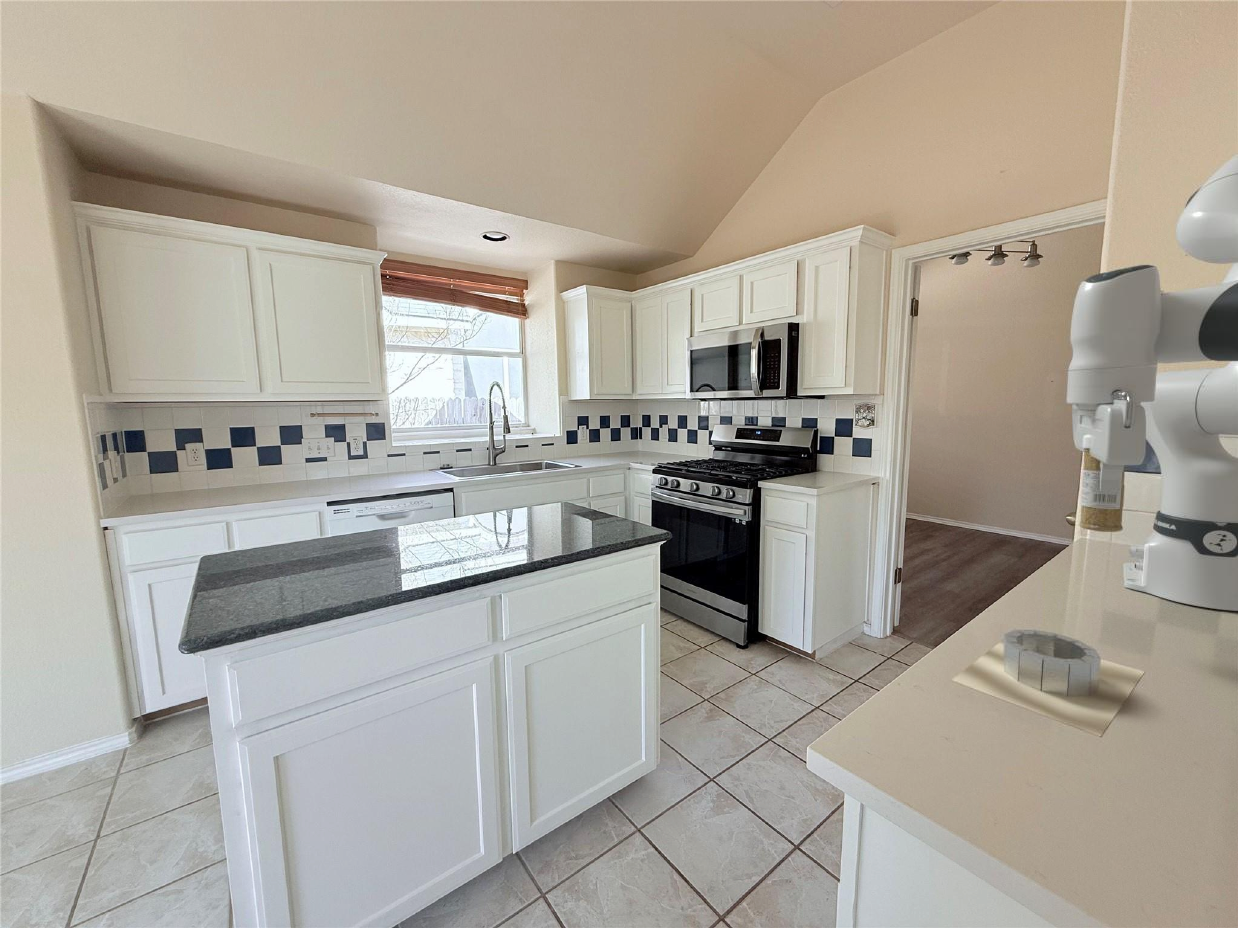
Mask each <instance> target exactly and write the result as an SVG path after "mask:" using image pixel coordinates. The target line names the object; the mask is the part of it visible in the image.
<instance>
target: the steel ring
mask: <svg viewBox="0 0 1238 928" xmlns="http://www.w3.org/2000/svg"><path fill="white" fill-rule="evenodd" d="M1003 639H1004V649H1003V667H1004V671H1005V672H1006V673H1007V674H1008V675H1010V676H1011V677H1012V678H1014V679H1015V680H1016V681H1018V682H1020V683H1022V684H1025V685H1027V686H1030V687H1032V688H1035V689H1037V690H1040V691H1043V692H1048V693H1053V694H1058V695H1062V696H1068V697H1074V696H1090V695H1092V694H1093V693H1095V692H1097V691H1098V689H1099V676H1100V663H1101V659H1102V658H1101V656H1100V654H1099V653H1098V651H1097V649H1095V648H1094V647H1092V646H1090V645H1088V644H1087V643H1085V642H1083V641H1081V640H1079V639H1075V638H1072V637H1069V636H1066V635H1064V634H1063V635H1062V634H1060V633H1056V632H1050V631H1045V630H1038V629H1013V630H1011V631H1008V632H1006V633H1005V634H1004V635H1003Z"/></svg>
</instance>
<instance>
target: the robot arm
mask: <svg viewBox="0 0 1238 928" xmlns="http://www.w3.org/2000/svg"><path fill="white" fill-rule="evenodd" d="M1175 239H1176V241H1177V243H1178V246H1179V247H1180V248H1181V250H1183V252H1185V253H1186V255H1187V254H1188V255H1189V256H1190V257H1192V258H1194V259H1196V260H1199V261H1202V262H1206V263H1209V264H1216V265H1217V264H1219V265H1223V264H1225V265H1226V264H1233V265H1232V266H1230V267H1231V268H1230V269H1229V271H1228V272H1227V274H1226V275H1225V277H1224V279H1223V280H1222V282H1221V284H1216V285H1209V286H1202V287H1197V288H1190V289H1184V290H1178V291H1173V292H1172V291H1171V292H1165V290H1164V291H1163V290H1161V282H1160V281H1161V280H1160V274H1159V270H1158V266H1155V265H1150V264H1140V265H1135V266H1129V267H1125V268H1121V269H1120V268H1119V269H1115V270H1112V271H1106V272H1101V273H1098V274H1097V273H1096V274H1093V275H1091V276H1088V277H1087V278H1086V279H1085V280H1083V281H1081V282H1080V284H1079V286H1078V289H1077V292H1076V295H1075V298H1074V303H1073V309H1072V314H1071V323H1070V335H1069V336H1070V338H1069V341H1070V344H1071V347H1072V358H1071V361H1070V363H1069V366H1068V372H1067V384H1066V385H1067V389H1066V402H1065V403H1067V404H1068V405H1069V404H1071V405H1072V406H1071V407H1072V408H1071V414H1072V415H1071V417H1072V418H1071V419H1072V421H1071V422H1072V434H1073V435H1072V437H1073V438H1072V439H1073V442H1074V447H1075V448H1076V449H1077V450H1079V451H1081V452H1082V453H1084V451H1083V450H1084V448H1083V437H1084V436H1085V435H1090V436H1091V446H1090V449H1089V451H1090V455H1091V456H1092V457H1094V458H1096V459H1098V460H1100V468H1101V473H1100V479H1099V481H1098V489H1099V490H1100V491H1101V492H1103V493H1117V492H1118V488H1119V480H1120V478H1121V475H1122V472H1123V470H1124V465H1125V466H1139V465H1142V464H1143V461H1144V460H1145V456H1146V447H1147V446H1146V443H1147V442H1148V443H1149V445H1150V446H1151V448H1152V449H1153V451H1154V453H1155V455H1156V457H1157V460H1158V463H1159V467H1160V474H1161V481H1160V482H1161V483H1160V484H1161V486H1160V487H1161V489H1160V490H1161V491H1160V507H1159V510H1158V511H1156V514H1155V517H1154V518H1153V527H1152V529H1153V530H1154V531H1153V532H1152V533H1151V534H1150V535H1148V536H1147V538H1145V539H1144V540H1143V541H1142V542H1141V544H1140V546H1129V551H1128V552H1129V555H1128V556H1129V557H1128V558H1129V559H1134V560H1139V562H1138V561H1137V562H1136V561H1135V562H1124V563H1123V566H1122V573H1123V574H1122V575H1123V577H1122V579H1123V587H1124V588H1127V589H1129V590H1135V591H1138V592H1139V591H1140V592H1143V593H1147V594H1149V595H1154V596H1156V597H1158V598H1161V599H1166V600H1170V601H1173V602H1177V603H1181V604H1186V605H1191V606H1195V607H1196V606H1197V607H1201V608H1202V607H1203V608H1206V609H1207V608H1209V609H1215V610H1223V611H1237V612H1238V457H1236V456H1234V455H1232V454H1230V453H1229V452H1228V451H1227V450H1226V449H1225V447H1224V446H1223V444H1222V443H1221V440H1220V435H1223V436H1226V435H1227V436H1238V153H1237V154H1235V155H1233V156H1232V157H1231V158H1230V159H1229V160H1227V161H1226V162H1225V163H1223V164H1222V165H1221V167H1219V168H1218V169H1217V170H1215V172H1214V173H1213V174H1212V175H1211V176H1210V177H1209V178H1208V179H1207V180H1206V181H1205V182H1204V183H1203V184H1202V186H1200V187H1199V188H1198V189H1197V190H1196V191H1195V192H1194V193H1192V195H1190V197H1189V198H1188V200H1187V202H1186V204H1185V206H1184V209H1183V211H1182V212H1181V214H1180V216H1179V218H1178V221H1177V224H1176V227H1175ZM1211 361H1214V362H1229V363H1228V364H1227V365H1226V366H1223V367H1218V368H1217V367H1215V368H1213V367H1212V368H1198V369H1197V368H1196V369H1179V370H1177V369H1176V370H1167V371H1162V372H1158V364H1179V363H1181V364H1182V363H1193V362H1194V363H1195V362H1197V363H1198V362H1211ZM1146 441H1147V442H1146ZM1124 471H1125V470H1124Z"/></svg>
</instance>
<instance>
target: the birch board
mask: <svg viewBox="0 0 1238 928" xmlns="http://www.w3.org/2000/svg"><path fill="white" fill-rule="evenodd" d="M1003 649H1004V638H1003V639H1002V640H1000V642H998V643H997V644H996V645H995V646H993V647H992V648H991V649H990V650H988V651H987V652H985V653H984V654H983V655H982V656H980V657H979V658H978V659H976V660H975V661H974V662H973V663H971V664H970V665H968V666H967V667H966V668H965V669H963V670H962V671H960V673H959V674H957V675H956V676H954V677H953V678H952V679H951V680H950V681H951V682H954V683H957V684H959V685H963V686H965V687H967V688H970V689H973V690H975V691H978V692H981V693H983V694H985V695H989V696H991V697H994V698H996V699H1000V700H1002V701H1005V702H1007V703H1010V704H1013V705H1015V706H1017V707H1019V708H1022V709H1025V710H1028V711H1031V712H1033V713H1036V714H1038V715H1041V716H1043V717H1047V718H1049V719H1051V720H1054V721H1057V722H1060V723H1062V724H1065V725H1067V726H1070V727H1073V728H1076V729H1078V730H1081V731H1084V732H1086V733H1089V734H1091V735H1094V736H1097V737H1100V738H1102V736H1103V735H1104V733H1105V731H1106V730H1107V728H1108V727H1109V726H1110V725H1111V722H1112V721H1113V719H1114V718H1115V716H1117V713H1118V712H1119V711H1120V710H1121V708H1122V706H1123V705H1124V703H1125V702H1126V701H1127V699H1128V697H1129V696H1130V694H1131V693H1132V691H1134V689H1135V687H1136V686H1137V684H1138V683H1139V681H1140V680H1141V678H1142V677H1143V675H1144V674H1145V671H1143V670H1139V669H1137V668H1133V667H1130V666H1126V665H1123V664H1122V665H1121V664H1119V663H1116V662H1112V661H1109V660H1105V659H1102V658H1101V663H1100V676H1099V689H1098V691H1097V692H1095V693H1093V694H1092V695H1090V696H1074V697H1068V696H1062V695H1058V694H1053V693H1048V692H1043V691H1040V690H1037V689H1035V688H1032V687H1030V686H1027V685H1025V684H1022V683H1020V682H1018V681H1016V680H1015V679H1014V678H1012V677H1011V676H1010V675H1008V674H1007V673H1006V672H1005V671H1004V667H1003Z"/></svg>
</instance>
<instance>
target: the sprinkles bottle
mask: <svg viewBox="0 0 1238 928" xmlns="http://www.w3.org/2000/svg"><path fill="white" fill-rule="evenodd" d="M1090 446H1091V436H1090V435H1085V436H1084V437H1083V448H1084V450H1083V451H1084V452H1083V468H1082V477H1081V478H1082V479H1081V497H1080V498H1081V499H1080V505H1081V507H1080V508H1081V510H1080V522H1079V527H1080V528H1081V529H1085V530H1090V531H1095V532H1102V533H1116V532H1120V531H1123V525H1122V523H1123V508H1124V504H1125V501H1124V500H1125V489H1126V488H1125V470H1126V465H1124V470H1123V472H1122V475H1121V478H1120V480H1119V488H1118V492H1117V493H1103V492H1101V491H1100V490H1099V489H1098V481H1099V479H1100V473H1101V468H1100V460H1098V459H1096V458H1094V457H1092V456H1091V455H1090V451H1089V449H1090Z"/></svg>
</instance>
